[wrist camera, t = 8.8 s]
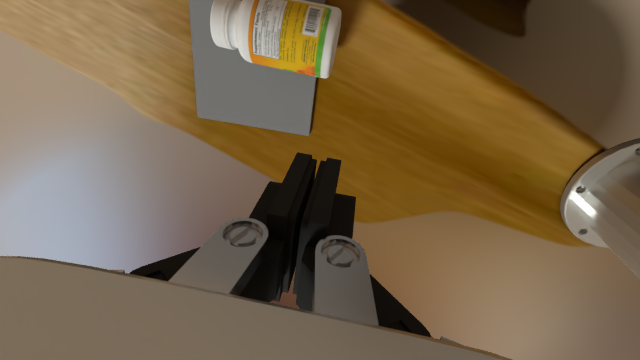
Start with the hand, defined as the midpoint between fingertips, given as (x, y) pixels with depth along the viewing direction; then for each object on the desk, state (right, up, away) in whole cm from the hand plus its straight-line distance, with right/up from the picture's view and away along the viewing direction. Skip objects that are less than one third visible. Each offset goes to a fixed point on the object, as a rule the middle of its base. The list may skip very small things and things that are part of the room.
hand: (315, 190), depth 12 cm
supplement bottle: (+2, +11, +14) cm, 18 cm away
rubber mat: (-6, +12, +18) cm, 23 cm away
